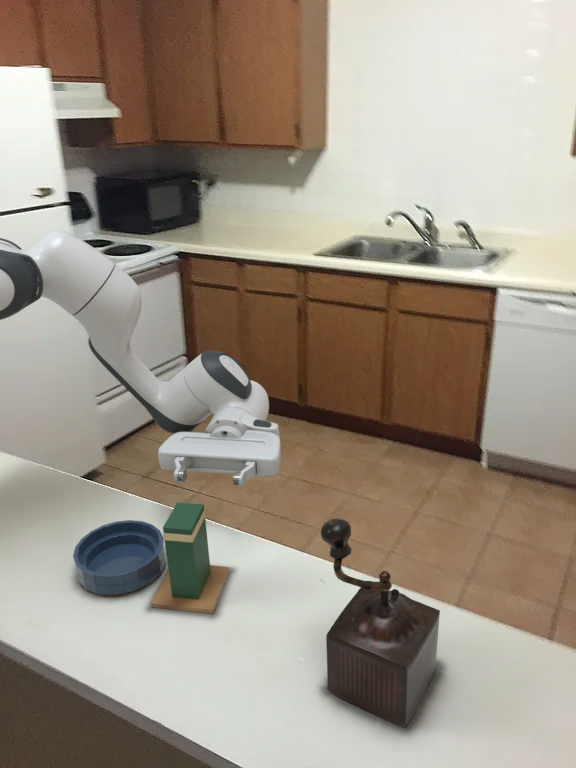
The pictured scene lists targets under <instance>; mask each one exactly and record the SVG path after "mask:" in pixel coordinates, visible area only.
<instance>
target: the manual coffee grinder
mask: <svg viewBox="0 0 576 768" xmlns="http://www.w3.org/2000/svg"><path fill="white" fill-rule="evenodd" d="M351 536H352V526H351V524H350V522H349V521H347V520H345V519H343V518H339V517H337V518H332V519H329V520H327V521H326V522H324V523H323V525H322V527H321V530H320V537H321V539H322V541H324V542H325V543H326V544H327V545H328V546H329V548H330V551H329V557H330V558H332V559H334V560H333V565H332V566H333V567H332V568H333V571H334V576H335V577H336V578H337V579H338V580H339V581H342V582H343V583H346V584H349V585H353V586H356V587H359V589H358V590H357V591H356V593H355V595H353V597H352V598H350V600H349V602H348V603H347V604H346V606H345V607H344V608H343V610H342V611H341V612H340V614H339V615H338V616H337V618H336V619H335V621H334V623H333V624H332V625H331V627H330V629H329V630H328V632H327V633H326V635H325V636H326V638H325V640H326V641H325V642H326V644H325V645H326V668H327V669H326V670H327V671H326V673H327V675H326V676H327V687H326V689H327V692H329V693H331V694H332V695H333V696H335V697H336V698H338V699H339V700H342V701H343V702H346V703H348V704H350V705H352V706H354V707H356V708H358V709H360V710H363V711H365V712H367V713H369V714H371V715H372V716H375V717H378V718H381V719H383V720H385V721H388V722H390V723H392V724H395V725H397V726H399V727H401V728H404V729H406V727H407V725H408V724H409V723H410V721H411V719H412V718H414V716H415V713H416V711H417V709H418V708H419V705H420V703H421V701H422V700H423V698H424V696H425V694H426V693H427V691H428V689H429V686H430V684H431V683H432V681H433V678H434V676H435V674H436V671H437V669H436V667H437V662H436V661H437V653H438V652H437V651H438V641H439V629H440V627H439V626H440V615H441V611H440V609H437V608H435V607H433V606H431V605H427V604H425V603H422V602H420V601H417V600H416V599H412V598H411V597H409V596H407V595H405V594H404V593H402V592H400V591H399V589H396V588H393V589H392V587H393V584H392V582H391V578H392V577H391V576H392V575H391V574H390V573H389V571H388V570H382V571H381V572H380V573H379V575H378V578H379V581H374V580H363V579H359V578H355V577H352V576H350V575H348V574H346V573H345V572H344V571H343V569H342V563H343V560H345V559H346V558H347V557H348V556H350V555H351V554H352V547H351V546H350V544H349V543H348V542H349V539H350V537H351ZM391 589H392V590H391Z"/></svg>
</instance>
